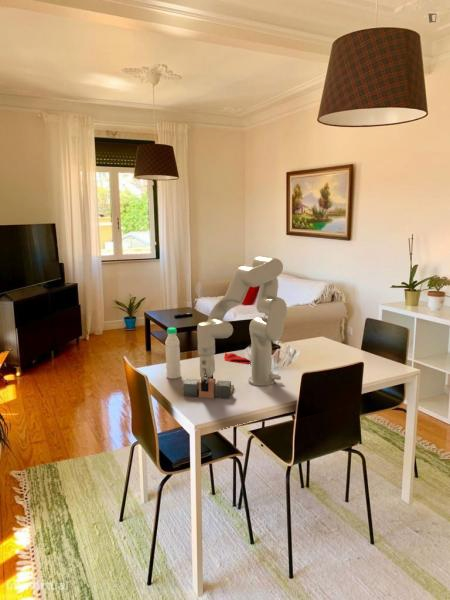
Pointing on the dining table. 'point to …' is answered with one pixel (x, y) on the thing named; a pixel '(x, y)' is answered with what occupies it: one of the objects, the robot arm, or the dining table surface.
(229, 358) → the cloth
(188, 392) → the gray dumbbell
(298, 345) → the dining table surface
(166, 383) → the dining table surface
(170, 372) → the water bottle
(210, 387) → the block
